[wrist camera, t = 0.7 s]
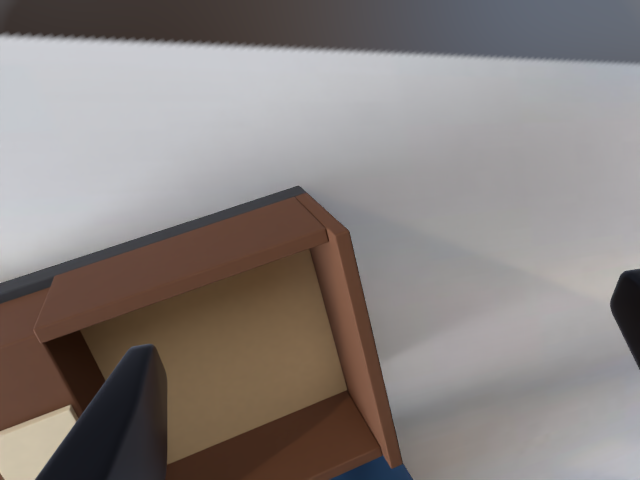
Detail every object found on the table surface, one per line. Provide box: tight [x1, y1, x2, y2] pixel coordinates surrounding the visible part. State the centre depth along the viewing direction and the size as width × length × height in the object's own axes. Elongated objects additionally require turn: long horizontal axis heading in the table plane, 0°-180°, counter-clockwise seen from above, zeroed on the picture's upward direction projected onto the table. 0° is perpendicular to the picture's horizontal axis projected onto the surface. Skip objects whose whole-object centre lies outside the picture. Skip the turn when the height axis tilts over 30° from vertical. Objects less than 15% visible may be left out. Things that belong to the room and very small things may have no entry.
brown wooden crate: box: [0, 186, 403, 480], centre depth 20 cm, size 16×11×6 cm
